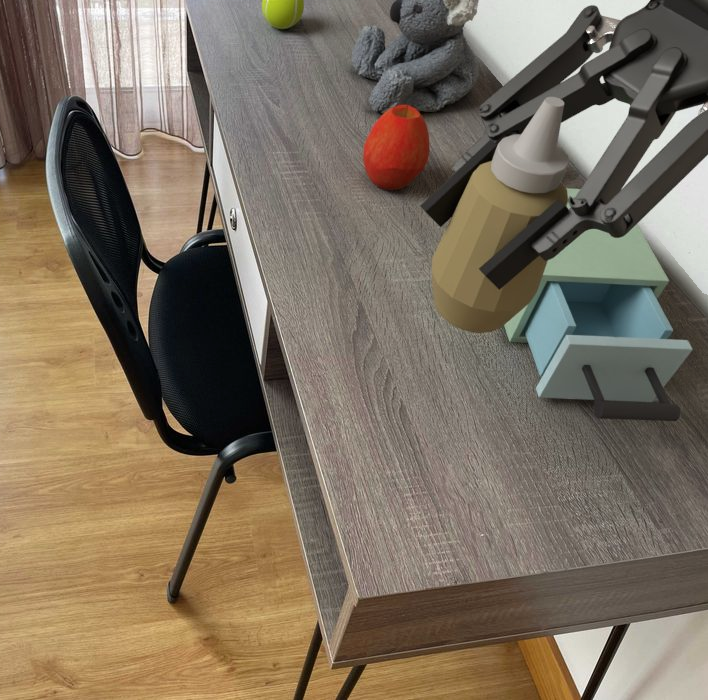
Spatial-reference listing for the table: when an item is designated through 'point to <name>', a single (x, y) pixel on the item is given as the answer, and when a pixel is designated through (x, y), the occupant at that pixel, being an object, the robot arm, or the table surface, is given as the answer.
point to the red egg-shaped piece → (396, 148)
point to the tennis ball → (282, 12)
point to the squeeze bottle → (499, 225)
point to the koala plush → (419, 56)
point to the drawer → (605, 349)
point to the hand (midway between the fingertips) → (459, 246)
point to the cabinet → (597, 267)
